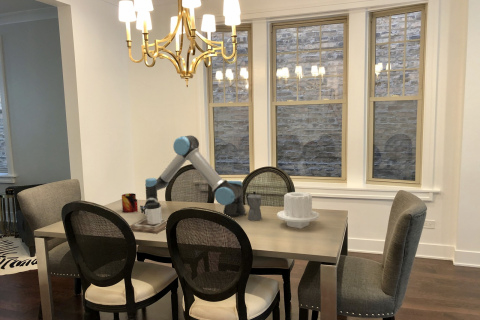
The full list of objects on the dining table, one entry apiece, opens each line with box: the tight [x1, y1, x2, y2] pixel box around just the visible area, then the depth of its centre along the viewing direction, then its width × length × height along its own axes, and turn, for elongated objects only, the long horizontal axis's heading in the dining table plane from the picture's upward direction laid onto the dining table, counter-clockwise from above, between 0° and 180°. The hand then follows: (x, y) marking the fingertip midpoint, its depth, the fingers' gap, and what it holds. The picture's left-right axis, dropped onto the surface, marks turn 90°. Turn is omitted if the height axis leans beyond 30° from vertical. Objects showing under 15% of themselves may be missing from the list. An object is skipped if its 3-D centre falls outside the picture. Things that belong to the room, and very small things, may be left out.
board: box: [129, 217, 168, 234], centre depth 233 cm, size 22×22×3 cm
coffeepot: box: [245, 191, 263, 222], centre depth 245 cm, size 15×9×18 cm, turn 33°
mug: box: [121, 192, 139, 214], centre depth 272 cm, size 10×14×12 cm
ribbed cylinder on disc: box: [276, 191, 320, 229], centre depth 228 cm, size 25×25×19 cm
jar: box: [146, 201, 163, 225], centre depth 232 cm, size 9×8×12 cm
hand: (148, 213), depth 229 cm, fingers open, 3 cm apart
